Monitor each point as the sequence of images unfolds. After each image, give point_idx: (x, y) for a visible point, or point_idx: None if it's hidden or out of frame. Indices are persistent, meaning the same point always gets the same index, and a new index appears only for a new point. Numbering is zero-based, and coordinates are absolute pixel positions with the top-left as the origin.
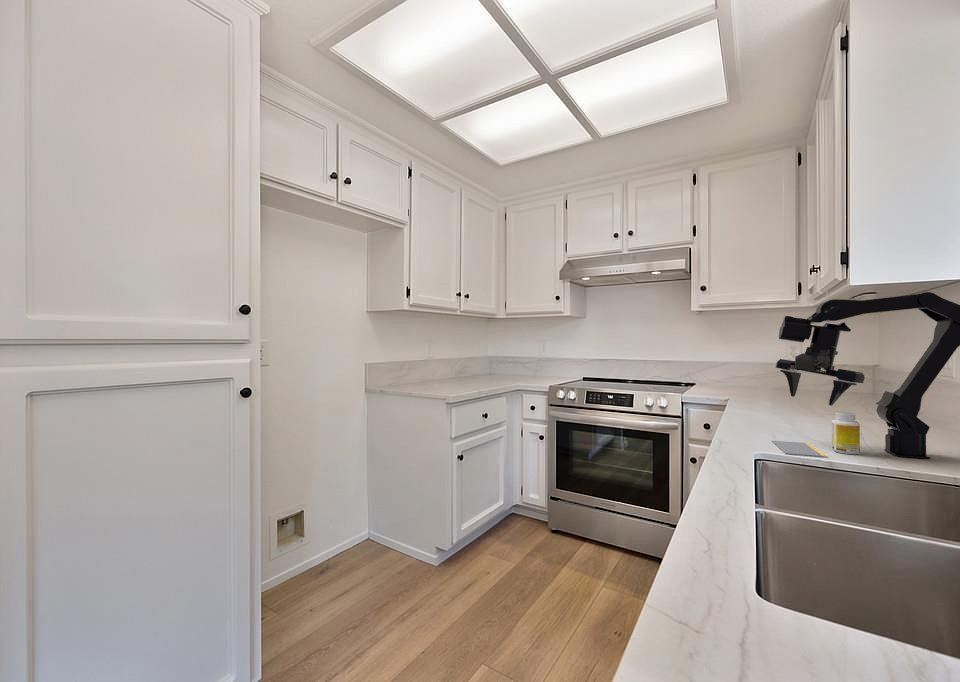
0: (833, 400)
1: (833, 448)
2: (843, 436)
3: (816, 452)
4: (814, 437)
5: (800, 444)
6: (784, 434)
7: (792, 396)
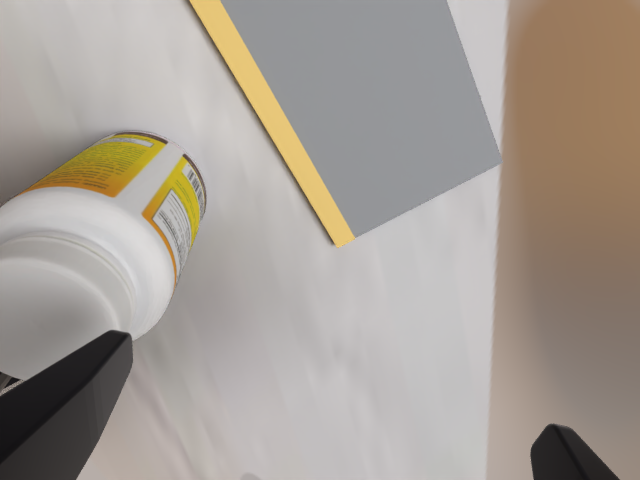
0: (43, 376)
1: (188, 158)
2: (93, 157)
3: (230, 2)
4: (353, 407)
5: (358, 176)
6: (468, 378)
7: (550, 424)
